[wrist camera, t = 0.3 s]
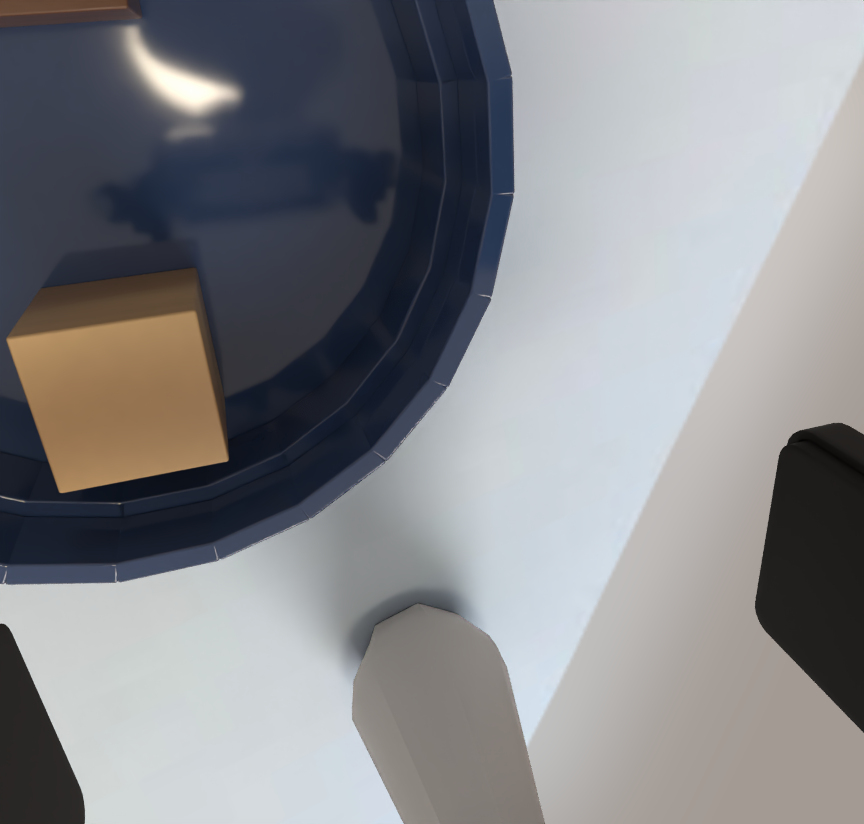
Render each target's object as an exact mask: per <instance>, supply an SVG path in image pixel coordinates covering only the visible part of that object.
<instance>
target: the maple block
mask: <svg viewBox="0 0 864 824" xmlns="http://www.w3.org/2000/svg"><path fill="white" fill-rule="evenodd" d="M6 341H7V344H8V347H9V350H10V352H11V355H12V358H13V361H14V364H15V367H16V370H17V373H18V375H19V378H20V381H21V384H22V387H23V390H24V393H25V396H26V398H27V401H28V404H29V407H30V410H31V413H32V416H33V419H34V421H35V424H36V427H37V430H38V433H39V436H40V439H41V441H42V444H43V447H44V450H45V453H46V456H47V459H48V462H49V464H50V467H51V470H52V473H53V476H54V479H55V482H56V485H57V487H58V490H59V492H60V493H66V492H71V491H76V490H81V489H86V488H92V487H97V486H102V485H107V484H112V483H118V482H123V481H128V480H133V479H138V478H144V477H149V476H154V475H159V474H164V473H170V472H175V471H180V470H185V469H190V468H196V467H201V466H206V465H211V464H216V463H222V462H227V461H228V460H229V452H228V438H227V424H226V411H225V397H224V393H223V388H222V383H221V379H220V374H219V369H218V365H217V360H216V355H215V351H214V346H213V341H212V337H211V332H210V328H209V323H208V318H207V314H206V309H205V304H204V300H203V295H202V290H201V286H200V281H199V277H198V272H197V269H196V268H187V269H180V270H172V271H165V272H158V273H150V274H143V275H136V276H128V277H121V278H114V279H106V280H99V281H91V282H84V283H77V284H69V285H62V286H55V287H47V288H41V289H40V290H39V291H38V293H37V294H36V296H35V297H34V299H33V300H32V302H31V303H30V304H29V306H28V307H27V309H26V310H25V312H24V313H23V315H22V316H21V317H20V319H19V320H18V322H17V323H16V325H15V326H14V328H13V329H12V331H11V332H10V333H9V335H8V336H7V338H6Z"/></svg>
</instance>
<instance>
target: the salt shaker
mask: <svg viewBox="0 0 864 824" xmlns="http://www.w3.org/2000/svg"><path fill="white" fill-rule="evenodd" d="M352 720H353V722H354V724H355V726H356V728H357V730H358V732H359V734H360V736H361V738H362V740H363V742H364V744H365V746H366V748H367V750H368V752H369V754H370V756H371V758H372V760H373V762H374V764H375V766H376V768H377V770H378V772H379V775H380V777H381V779H382V781H383V783H384V785H385V787H386V789H387V791H388V793H389V795H390V797H391V799H392V801H393V803H394V805H395V807H396V809H397V811H398V813H399V815H400V817H401V819H402V821H403V823H404V824H545V822H544V818H543V814H542V810H541V806H540V802H539V797H538V793H537V789H536V785H535V781H534V777H533V773H532V769H531V765H530V760H529V756H528V752H527V748H526V744H525V740H524V736H523V732H522V728H521V723H520V719H519V715H518V711H517V707H516V703H515V699H514V695H513V691H512V687H511V682H510V678H509V674H508V670H507V666H506V664H505V662H504V660H503V658H502V656H501V654H500V652H499V650H498V648H497V646H496V644H495V643H494V641H493V640H492V639H491V637H490V636H489V635H488V634H486V633H485V632H483V631H482V630H480V629H479V628H477V627H476V626H474V625H473V624H471V623H470V622H469V621H467V620H466V619H464V618H463V617H461V616H460V615H458V614H456V613H452V612H449V611H445V610H441V609H438V608H434V607H430V606H427V605H423V604H419V603H417V604H415V605H413V606H411V607H409V608H408V609H406V610H404V611H402V612H400V613H398V614H396V615H394V616H392V617H390V618H388V619H386V620H384V621H383V622H381V623H379V624H377V625H375V627H374V630H373V634H372V637H371V640H370V643H369V646H368V648H367V651H366V653H365V655H364V658H363V660H362V662H361V665H360V667H359V669H358V672H357V674H356V676H355V679H354V683H353V701H352Z"/></svg>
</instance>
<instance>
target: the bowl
mask: <svg viewBox="0 0 864 824" xmlns="http://www.w3.org/2000/svg"><path fill="white" fill-rule="evenodd" d="M139 3H140V7H141V12H142V18H140V19H125V20H110V21H95V22H79V23H64V24H49V25H33V26H18V27H3V28H0V584H4V583H6V584H8V585H15V584H73V583H116V582H117V581H119V582H124V581H128V580H133V579H137V578H142V577H147V576H151V575H156V574H160V573H165V572H169V571H174V570H178V569H183V568H187V567H192V566H197V565H201V564H206V563H210V562H215V561H218V560H219V559H224V558H226V557H228V556H231V555H233V554H235V553H237V552H239V551H242V550H244V549H246V548H248V547H250V546H253V545H255V544H257V543H259V542H261V541H264V540H266V539H268V538H270V537H273V536H275V535H277V534H279V533H281V532H284V531H286V530H288V529H290V528H292V527H295V526H297V525H299V524H301V523H303V522H306V521H308V520H309V518H313V517H314V516H315V515H317V514H318V513H319V512H321V511H322V510H323V509H325V508H326V507H327V506H329V505H330V504H331V503H332V502H334V501H335V500H336V499H338V498H339V497H340V496H342V495H343V494H344V493H346V492H347V491H348V490H350V489H351V488H352V487H354V486H355V485H356V484H358V483H359V482H360V481H362V480H363V479H364V478H366V477H367V476H368V475H370V474H371V473H372V472H373V471H375V470H376V469H377V468H379V467H380V466H381V465H383V464H384V463H385V460H386V461H387V460H388V459H389V458H390V457H391V456H392V454H393V453H394V452H395V451H396V450H397V448H398V447H399V446H400V445H401V444H402V442H403V441H404V440H405V439H406V437H407V436H408V435H409V434H410V433H411V431H412V430H413V429H414V428H415V427H416V425H417V424H418V423H419V422H420V421H421V419H422V418H423V417H424V416H425V415H426V413H427V412H428V411H429V410H430V409H431V407H432V406H433V405H434V404H435V402H436V401H437V400H438V399H439V398H440V396H441V395H442V394H443V393H444V392H445V390H446V387H449V385H450V383H451V381H452V379H453V376H454V374H455V372H456V370H457V368H458V366H459V364H460V362H461V360H462V358H463V356H464V354H465V352H466V350H467V348H468V346H469V344H470V342H471V340H472V338H473V336H474V333H475V331H476V329H477V327H478V325H479V323H480V321H481V319H482V317H483V315H484V313H485V311H486V309H487V307H488V305H489V303H490V301H491V298H490V297H491V296H492V293H493V288H494V284H495V279H496V275H497V270H498V265H499V261H500V256H501V252H502V247H503V243H504V238H505V233H506V229H507V224H508V220H509V215H510V211H511V206H512V202H513V193H514V143H513V90H512V76H511V75H512V72H511V68H510V64H509V61H508V57H507V53H506V49H505V45H504V41H503V37H502V33H501V29H500V25H499V21H498V17H497V13H496V9H495V5H494V1H493V0H139ZM187 268H196V269H197V272H198V277H199V281H200V286H201V290H202V295H203V300H204V304H205V309H206V314H207V318H208V323H209V328H210V332H211V337H212V341H213V346H214V351H215V355H216V360H217V365H218V369H219V374H220V379H221V383H222V388H223V393H224V397H225V411H226V424H227V438H228V452H229V460H228V461H227V462H222V463H216V464H211V465H206V466H201V467H196V468H190V469H185V470H180V471H175V472H170V473H164V474H159V475H154V476H149V477H144V478H138V479H133V480H128V481H123V482H118V483H112V484H107V485H102V486H97V487H92V488H86V489H81V490H76V491H71V492H66V493H60V492H59V490H58V487H57V485H56V482H55V479H54V476H53V473H52V470H51V467H50V464H49V462H48V459H47V456H46V453H45V450H44V447H43V444H42V441H41V439H40V436H39V433H38V430H37V427H36V424H35V421H34V419H33V416H32V413H31V410H30V407H29V404H28V401H27V398H26V396H25V393H24V390H23V387H22V384H21V381H20V378H19V375H18V373H17V370H16V367H15V364H14V361H13V358H12V355H11V352H10V350H9V347H8V344H7V341H6V338H7V336H8V335H9V333H10V332H11V331H12V329H13V328H14V326H15V325H16V323H17V322H18V320H19V319H20V317H21V316H22V315H23V313H24V312H25V310H26V309H27V307H28V306H29V304H30V303H31V302H32V300H33V299H34V297H35V296H36V294H37V293H38V291H39V290H40V289H41V288H47V287H55V286H62V285H69V284H77V283H84V282H91V281H99V280H106V279H114V278H121V277H128V276H136V275H143V274H150V273H158V272H165V271H172V270H180V269H187Z"/></svg>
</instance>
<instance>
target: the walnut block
mask: <svg viewBox="0 0 864 824" xmlns="http://www.w3.org/2000/svg"><path fill="white" fill-rule="evenodd" d="M140 18H142V12H141V7H140V3H139V0H0V28H3V27H18V26H33V25H49V24H64V23H79V22H95V21H110V20H125V19H140Z"/></svg>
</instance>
